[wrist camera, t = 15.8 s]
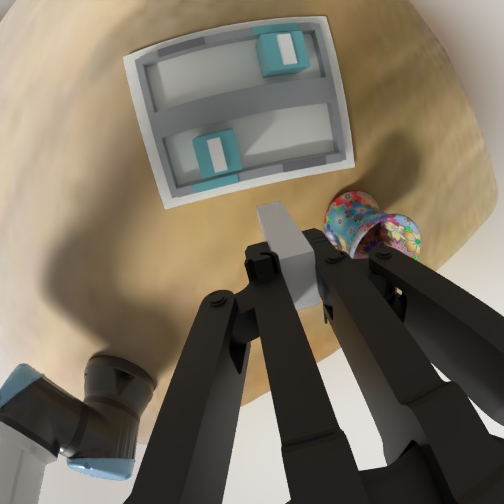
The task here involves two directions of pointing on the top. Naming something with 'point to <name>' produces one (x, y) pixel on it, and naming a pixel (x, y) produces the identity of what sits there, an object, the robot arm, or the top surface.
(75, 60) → the top surface
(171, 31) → the top surface
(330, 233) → the mug
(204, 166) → the tab
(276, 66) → the tab
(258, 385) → the top surface
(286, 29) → the switch board
